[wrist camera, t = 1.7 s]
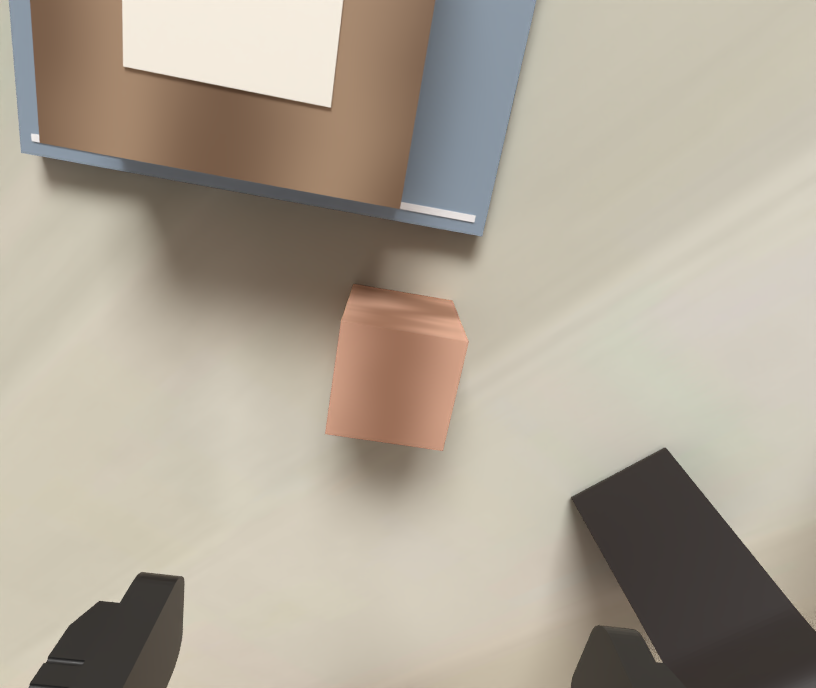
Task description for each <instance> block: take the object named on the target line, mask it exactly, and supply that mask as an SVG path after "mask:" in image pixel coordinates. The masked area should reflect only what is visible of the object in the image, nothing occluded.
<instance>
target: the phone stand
mask: <svg viewBox="0 0 816 688" xmlns="http://www.w3.org/2000/svg"><path fill="white" fill-rule="evenodd" d="M571 498H572V500H573V502H574V503H575V505H576V507H577V509H578V511H579V512H580V514H581V516H582V518H583V520H584V521H585V523H586V525H587V527H588V529H589V530H590V532H591V534H592V536H593V538H594V539H595V541H596V543H597V545H598V547H599V548H600V550H601V552H602V554H603V556H604V557H605V559H606V561H607V563H608V565H609V566H610V568H611V570H612V572H613V574H614V575H615V577H616V579H617V581H618V583H619V584H620V586H621V588H622V590H623V592H624V593H625V595H626V597H627V599H628V601H629V602H630V604H631V606H632V608H633V609H634V611H635V613H636V615H637V617H638V618H639V620H640V622H641V624H642V626H643V627H644V629H645V631H646V633H647V635H648V636H649V638H650V640H651V642H652V644H653V645H654V647H655V649H656V651H657V653H658V654H659V656H660V658H661V660H662V662H663V663H665V664H666V665H667V667H668V668H669V669H670V670H671V671H672V672H673V673H674V674H675V675H676V677H677V678H678V679H679V680H680V681H681V682H682V683H683V684H684V686H685V687H686V688H816V631H815V630H814V629H813V628H812V627H811V626H810V625H809V623H808V622H807V621H806V620H805V619H804V618H803V616H802V615H801V614H800V613H799V612H798V610H797V609H796V608H795V607H794V606H793V604H792V603H791V602H790V601H789V599H788V598H787V597H786V596H785V594H784V593H783V592H782V591H781V590H780V588H779V587H778V586H777V585H776V583H775V582H774V581H773V580H772V578H771V577H770V576H769V575H768V573H767V572H766V571H765V570H764V568H763V567H762V566H761V565H760V564H759V562H758V561H757V560H756V559H755V557H754V556H753V555H752V554H751V552H750V551H749V550H748V549H747V547H746V546H745V545H744V544H743V543H742V541H741V540H740V539H739V538H738V536H737V535H736V534H735V533H734V531H733V530H732V529H731V528H730V526H729V525H728V524H727V523H726V521H725V520H724V519H723V518H722V517H721V515H720V514H719V513H718V512H717V510H716V509H715V508H714V507H713V505H712V504H711V503H710V502H709V500H708V499H707V498H706V497H705V496H704V494H703V493H702V492H701V491H700V489H699V488H698V487H697V486H696V484H695V483H694V482H693V481H692V479H691V478H690V477H689V476H688V474H687V473H686V472H685V471H684V470H683V468H682V467H681V466H680V465H679V463H678V462H677V461H676V460H675V458H674V457H673V456H672V455H671V453H670V452H669V451H668V450H667V449H666V448H663V449H661V450H659V451H657V452H655V453H654V454H652V455H650V456H648V457H646V458H644V459H642V460H640V461H639V462H637V463H635V464H633V465H631V466H629V467H627V468H625V469H623V470H622V471H620V472H618V473H616V474H614V475H612V476H610V477H608V478H607V479H605V480H603V481H601V482H599V483H597V484H595V485H593V486H591V487H590V488H588V489H586V490H584V491H582V492H580V493H578V494H576V495H575V496H573V497H571Z"/></svg>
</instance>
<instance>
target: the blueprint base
mask: <svg viewBox="0 0 816 688" xmlns="http://www.w3.org/2000/svg"><path fill="white" fill-rule="evenodd" d="M535 4H536V0H9V8H10V20H11V33H12V45H13V57H14V70H15V82H16V94H17V107H18V119H19V131H20V144H21V153H26V154H31V155H37V156H42V157H48V158H53V159H59V160H64V161H70V162H75V163H81V164H86V165H92V166H97V167H103V168H108V169H114V170H119V171H125V172H130V173H136V174H141V175H147V176H152V177H158V178H163V179H169V180H174V181H180V182H185V183H191V184H196V185H202V186H207V187H213V188H218V189H224V190H229V191H235V192H240V193H246V194H251V195H257V196H262V197H268V198H273V199H279V200H284V201H290V202H295V203H301V204H306V205H312V206H317V207H323V208H328V209H334V210H339V211H345V212H350V213H356V214H361V215H367V216H372V217H378V218H383V219H389V220H394V221H400V222H405V223H411V224H416V225H422V226H427V227H433V228H438V229H444V230H449V231H455V232H460V233H466V234H471V235H477V236H482V235H483V230H484V226H485V222H486V217H487V213H488V209H489V204H490V200H491V196H492V191H493V187H494V182H495V178H496V174H497V169H498V165H499V161H500V156H501V152H502V148H503V143H504V139H505V134H506V130H507V126H508V121H509V117H510V113H511V108H512V104H513V100H514V95H515V91H516V86H517V82H518V78H519V73H520V69H521V65H522V60H523V56H524V52H525V47H526V43H527V38H528V34H529V30H530V25H531V21H532V17H533V12H534V8H535Z"/></svg>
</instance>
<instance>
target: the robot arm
mask: <svg viewBox="0 0 816 688" xmlns="http://www.w3.org/2000/svg"><path fill="white" fill-rule="evenodd" d="M183 607H184V578H183V577H182V576H173V575H164V574H155V573H146V572H141V573H139V574H138V575H137V576H136V578H135V579H134V580H133V582H132V584H131V585H130V587H129V589H128V590H127V592H126V594H125V595H124V597H123V599H122V600H121V602H120V603H114V602H105V601H99V602H98V603H96V604H95V605H94V606H93V607H91V608H90V609H89V610H88V611H87V612H85V613H84V614H83V615H82V616H80V617H79V618H78V619H77V620H76V621H74V622H73V623H72V624H71V625H69V627H68V628H67V630H66V631H65V633H64V634H63V636H62V637H61V639H60V640H59V642H58V643H57V644H56V646H55V647H54V649H53V650H52V652H51V653H50V655H49V656H48V660H47V662H46V663H43V665H42V666H41V668H40V669H39V671H38V672H37V674H36V675H35V677H34V678H33V680H32V681H31V682H30V686H29V688H166V687H167V685H168V683H169V680H170V678H171V675H172V673H173V670H174V668H175V665H176V662H177V658H178V655H179V651H180V646H181V641H182V633H183ZM571 688H686V687H685V686H684V684H683V683H682V682H681V681H680V680H679V679H678V678H677V677H676V675H675V674H674V673H673V672H672V671H671V670H670V669H669V668H668V667H667V665H666V664H665V663H657V662H655V660H654V658H653V656H652V654H651V652H650V650H649V648H648V646H647V644H646V642H645V641H644V639H643V637H642V636H641V634H640V633H639V632H638V631H636V630H634V629H626V628H617V627H609V626H600V625H598V626H596V627H594V628H593V630H592V632H591V634H590V637H589V639H588V641H587V644H586V646H585V648H584V651H583V653H582V655H581V658H580V660H579V663H578V665H577V667H576V670H575V672H574V674H573V677H572V682H571Z"/></svg>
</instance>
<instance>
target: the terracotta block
mask: <svg viewBox="0 0 816 688" xmlns="http://www.w3.org/2000/svg"><path fill="white" fill-rule="evenodd" d="M468 342H469V341H468V339H467V336H466V334H465V331H464V329H463V326H462V324H461V321H460V319H459V316H458V313H457V311H456V308H455V306H454V303H453V301H452V300H446V299H440V298H434V297H428V296H422V295H417V294H411V293H405V292H399V291H393V290H387V289H381V288H375V287H370V286H364V285H358V284H353V286H352V289H351V292H350V295H349V298H348V301H347V304H346V307H345V310H344V314H343V317H342V320H341V325H340V332H339V339H338V346H337V353H336V360H335V367H334V374H333V381H332V389H331V396H330V403H329V410H328V417H327V424H326V431H325V434H329V435H336V436H343V437H350V438H357V439H364V440H371V441H378V442H385V443H392V444H399V445H406V446H412V447H419V448H426V449H433V450H440V451H443V448H444V444H445V439H446V435H447V431H448V427H449V423H450V418H451V414H452V410H453V406H454V402H455V397H456V393H457V389H458V385H459V380H460V376H461V372H462V368H463V364H464V359H465V355H466V351H467V347H468Z"/></svg>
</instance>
